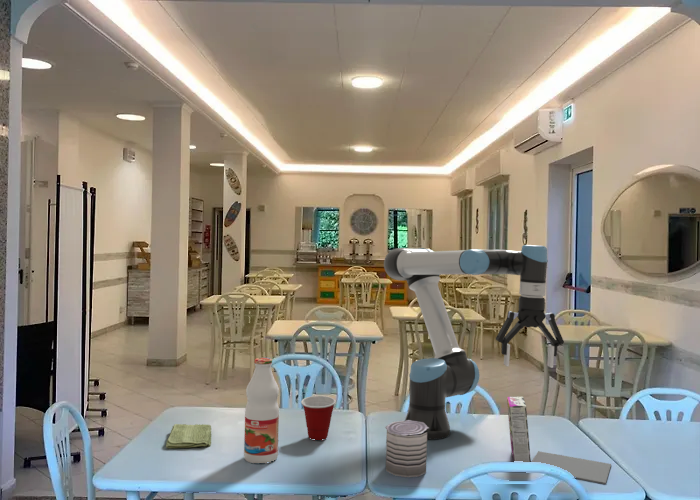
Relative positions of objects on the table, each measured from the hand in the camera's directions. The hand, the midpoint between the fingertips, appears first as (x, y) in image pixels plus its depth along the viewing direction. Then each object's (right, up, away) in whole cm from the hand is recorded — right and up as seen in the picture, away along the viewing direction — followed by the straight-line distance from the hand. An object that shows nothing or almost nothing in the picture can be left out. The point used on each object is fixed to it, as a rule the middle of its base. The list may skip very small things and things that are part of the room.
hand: (528, 366), depth 183 cm
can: (-39, -25, -19) cm, 50 cm away
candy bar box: (-5, -25, -8) cm, 27 cm away
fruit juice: (-79, -24, -13) cm, 84 cm away
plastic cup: (-64, -24, +6) cm, 69 cm away
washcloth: (-103, -23, +2) cm, 105 cm away
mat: (+7, -25, -14) cm, 30 cm away
